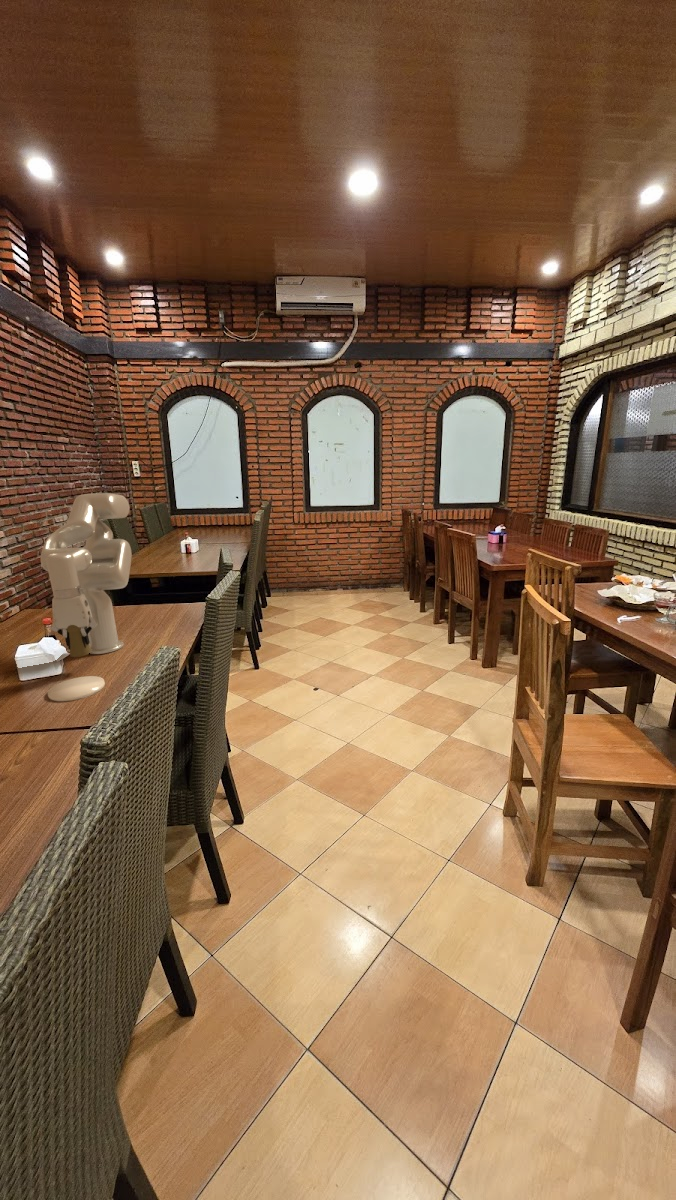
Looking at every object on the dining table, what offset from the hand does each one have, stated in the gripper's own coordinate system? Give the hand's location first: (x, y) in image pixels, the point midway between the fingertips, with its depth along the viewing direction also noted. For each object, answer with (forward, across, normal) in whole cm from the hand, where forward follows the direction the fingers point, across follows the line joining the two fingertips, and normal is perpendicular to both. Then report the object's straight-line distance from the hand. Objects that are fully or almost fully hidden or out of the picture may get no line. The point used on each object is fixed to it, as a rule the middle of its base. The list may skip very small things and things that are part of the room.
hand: (78, 646), depth 154 cm
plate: (+8, -3, +16) cm, 18 cm away
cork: (+2, 0, 0) cm, 2 cm away
